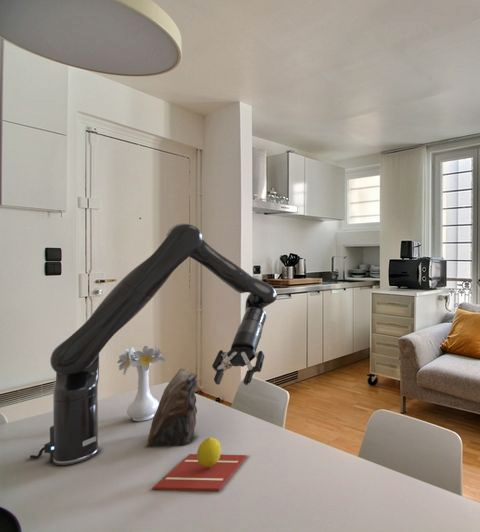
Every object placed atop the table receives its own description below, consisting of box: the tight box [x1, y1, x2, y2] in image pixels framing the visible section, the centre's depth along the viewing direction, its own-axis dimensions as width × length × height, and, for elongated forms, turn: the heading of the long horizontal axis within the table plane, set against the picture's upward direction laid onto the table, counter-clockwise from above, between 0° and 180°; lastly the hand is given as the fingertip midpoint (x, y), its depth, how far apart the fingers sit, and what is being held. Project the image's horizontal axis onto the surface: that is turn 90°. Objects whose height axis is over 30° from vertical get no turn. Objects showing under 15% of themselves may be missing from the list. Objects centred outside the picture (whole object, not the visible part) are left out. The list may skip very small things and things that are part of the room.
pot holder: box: [152, 453, 247, 492], centre depth 96 cm, size 16×15×1 cm
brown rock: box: [146, 368, 198, 448], centre depth 113 cm, size 13×13×20 cm
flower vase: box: [116, 345, 167, 422], centre depth 127 cm, size 13×18×25 cm
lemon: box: [196, 436, 222, 468], centre depth 97 cm, size 6×6×8 cm
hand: (231, 383), depth 108 cm, fingers open, 8 cm apart
